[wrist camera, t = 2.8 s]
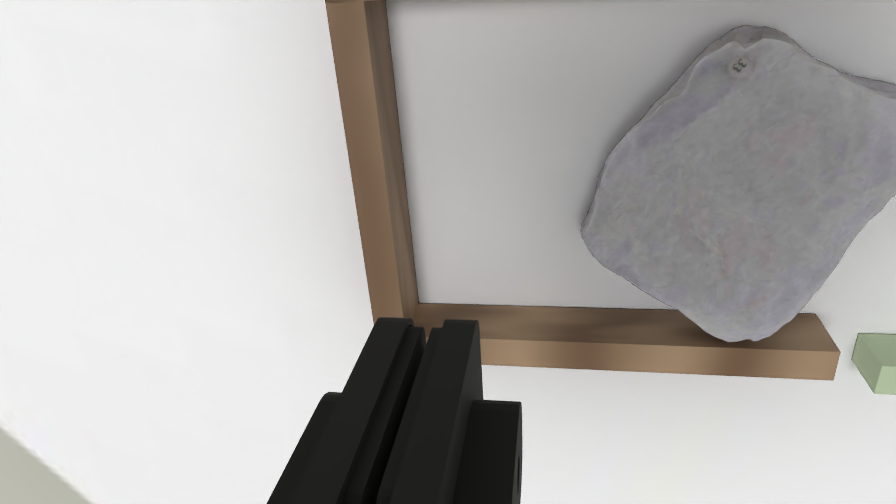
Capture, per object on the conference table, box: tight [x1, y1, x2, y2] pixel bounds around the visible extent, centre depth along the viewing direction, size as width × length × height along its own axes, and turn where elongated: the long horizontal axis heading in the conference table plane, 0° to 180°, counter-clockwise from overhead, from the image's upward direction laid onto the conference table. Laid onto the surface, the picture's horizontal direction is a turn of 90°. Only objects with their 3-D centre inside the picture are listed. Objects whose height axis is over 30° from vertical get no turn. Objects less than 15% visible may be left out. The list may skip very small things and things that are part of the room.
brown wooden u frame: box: [325, 0, 840, 380], centre depth 26 cm, size 20×18×3 cm
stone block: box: [581, 25, 896, 342], centre depth 26 cm, size 12×5×10 cm
